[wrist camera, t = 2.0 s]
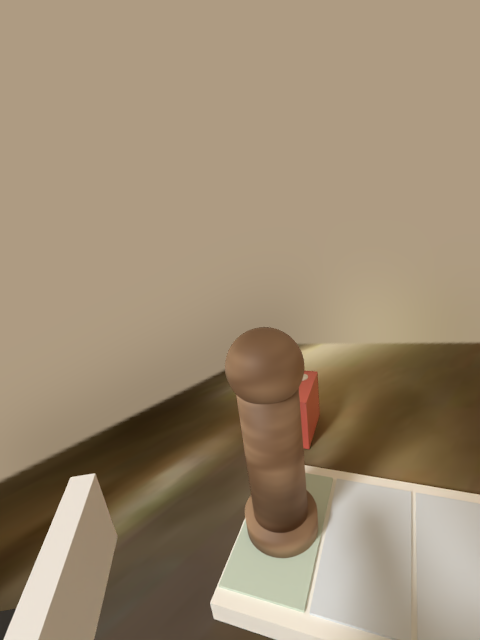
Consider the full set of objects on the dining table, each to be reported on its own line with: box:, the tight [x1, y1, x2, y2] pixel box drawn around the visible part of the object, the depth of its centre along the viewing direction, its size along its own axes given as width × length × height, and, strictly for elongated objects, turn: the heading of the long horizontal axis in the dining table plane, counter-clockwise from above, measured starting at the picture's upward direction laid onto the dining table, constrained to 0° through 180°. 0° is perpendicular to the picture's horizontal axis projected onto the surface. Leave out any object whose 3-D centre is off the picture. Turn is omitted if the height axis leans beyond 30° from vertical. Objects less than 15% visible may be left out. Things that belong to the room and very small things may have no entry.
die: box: [299, 371, 320, 449], centre depth 39 cm, size 5×5×5 cm
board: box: [210, 465, 480, 640], centre depth 25 cm, size 22×12×2 cm, turn 69°
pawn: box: [225, 327, 318, 558], centre depth 25 cm, size 5×5×15 cm
